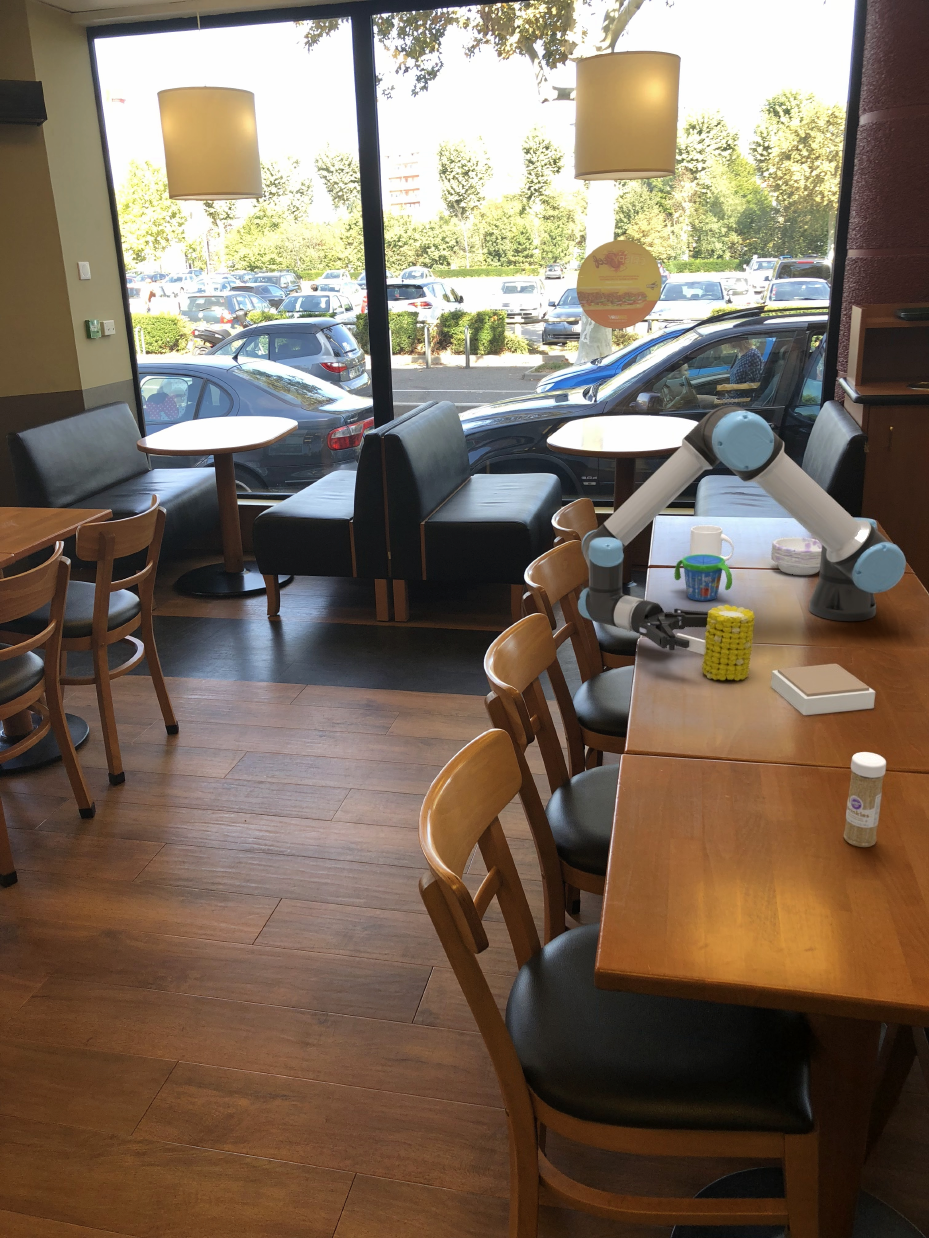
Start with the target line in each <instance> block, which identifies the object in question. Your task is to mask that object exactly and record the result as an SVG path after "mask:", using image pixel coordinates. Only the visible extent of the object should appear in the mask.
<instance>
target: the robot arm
mask: <svg viewBox="0 0 929 1238" xmlns="http://www.w3.org/2000/svg"><path fill="white" fill-rule="evenodd" d="M720 462H722V464H724V465H725V466H726V467H727V468H729V470H731V471H732V472H733V474H735V476H737V477H738V478H740V480H741V481H742V482H743V483H750V482H751V483H752V482H753V483H755V484H756V485H757V486H758V487H760V488H761V489H762V490H763V491H764V492H765V493H766V494H767V495H768V496H769V497H770V498H771V499H773V500H774V502H775V503H777V504H778V505H779V506H780V507H781V508H783V510H784V511H786V512H787V513H788V515H790V516H791V517H792V518H793V520H795V521H796V522H798V524H799V525H800V526H801V527H803V528H804V530H805V531H806V532H808V533H809V534H810V535H811V536H812V537H813V538H814V539H816V540H818V541H819V542H820V543H821V544H822V550H821V562H820V570H819V574H818V575H819V576H818V577H819V578H818V580H817V583H816V585H815V587H814V590H813V592H812V594H811V596H810V598H809V603H808V604H809V605H808V610H809V612H810V613H811V614H813V615H815V616H817V617H820V618H823V619H826V620H831V621H838V622H839V621H840V622H860V621H861V622H862V621H867V620H869V619H872V618H874V616H876V611H877V603H876V598H875V595H874V594H878V593H885V592H886V591H889V590H890V589H892V588H893V587H895V586H896V585H897V584H898V583H899V582H900V581H901V579H902V577H903V576H904V575H905V574H904V573H905V571H906V566H907V565H906V564H907V562H906V557H905V555H904V552H903V551H902V550H901V548H900V547H899V546H898V545H897V544H894V543H892V542H890V541H889V539H887V538H886V537H885V536H884V535H883V534H882V533H881V532H879V530H878V523H877V521H876V520H875V519H872V518H867V517H853V516H851V514H850V513H849V512H848V511H846V510H845V508H844V507H842V506H841V505H840V504H839V503H838V502H837V501H836V499H834V498H833V497H832V496H831V495H829V494H828V493H827V491H826V490H825V489H823V488H822V487H821V486H820V484H818V483H817V482H816V481H815V480H814V479H813V478H812V477H811V476H810V475H808V474H807V473H806V472H805V471H804V470H803V469H802V468H801V467H800V466H799V465H798V464H797V462H795V461H794V460H792V458H790V457H789V456H788V454H786V453H785V442H784V440H782V438H780V437H779V436H778V435H777V434H776V433H775V432H774V431H773V430H772V428H771V426H770V425H769V423H768V422H767V420H765V419H764V418H763V417H762V416H760V415H759V414H756V413H754V412H752V411H748V410H746V409H745V408H742V407H740V406H738V405H734V404H733V405H731V404H729V405H727V404H726V405H723V406H719V407H717V408H715V409H713V410H711V411H710V412H709V413H707V414H706V415H705V416H704V417H703V418H702V419H701V420H700V421H699V422H698V423H697V424H696V425H695V426H694V427H693V428H692V429H691V430H690V431H689V432H688V433H687V434H686V435H684V437H683V438H682V439H681V446H680V447H679V448H678V449H677V450H676V451H675V452H674V453H673V454H672V455H671V456H670V457H669V458H668V459H667V460H666V461H665V462H664V463H663V464H662V465H661V466H660V467H659V468H658V469H657V470H656V471H655V472H654V473H653V474H652V475H651V476H650V477H649V478H648V479H647V480H645V482H644V483H643V484H642V485H641V486H640V487H639V488H638V489H637V490H636V491H634V493H633V494H632V495H631V496H629V498H628V499H627V500H626V501H625V502H624V503H622V504H621V506H620V507H618V509H617V510H616V511H615V512H613V513H612V515H610V516H609V518H608V519H606V521H604V522H603V524H601V525H600V526H599V527H598V528H597V529H593V530H591V531H589V532H587V533H586V534H585V535H584V537H583V538H582V541H581V553H582V556H583V558H584V560H585V561H586V564H587V565H586V566H587V567H588V587H586V588H584V589H583V590H582V591H581V592H580V594H579V599H578V601H577V608H578V612H579V614H580V615H581V616H582V617H583V618H585V619H587V620H590V621H593V622H595V623H598V624H599V623H600V624H604V625H607V626H612V627H616V628H617V629H618V628H619V629H622V630H625V631H626V632H627V633H631V632H634V633H635V634H636V633H637V634H639V636H642V637H646V638H647V639H648V640H650V641H651V642H652V643H654V644H655V645H657V647H660V648H661V649H662V650H663V649H667V648H668V650H669V651H675V649H676V647H677V648H678V649H679V648H680V649H683V650H687V651H691V652H693V653H697V654H699V655H700V654H701V655H704V654H705V647H706V641H705V639H701V638H697V637H693V636H690V635H686V634H682V633H676V634H675V633H674V631H675V630H685V628H706V626H707V618H708V611H703V610H689V609H681V608H677V607H676V608H674V609H673V612H672V611H664V609H663V608H662V606H661V604H660V603H658V602H654V601H650V600H646V599H642V598H640V597H635V596H631V595H627V594H626V595H625V594H624V593H623V567H624V566H623V564H624V563H623V561H624V557H625V556H624V555H625V554H624V553H623V551H624V548H626V546H627V545H628V544H629V543H630V542H632V541H633V540H634V538H636V536H638V534H640V532H642V531H643V530H644V529H645V528H646V527H647V526H648V525H649V524H650V523H651V522H652V521H653V520H654V519H656V517H657V516H659V514H660V513H661V512H663V510H665V509H666V508H667V507H668V506H669V504H671V503H672V502H673V501H674V500H675V499H676V498H678V496H679V495H680V494H681V493H682V492H683V491H684V490H686V488H687V487H688V486H690V485H691V484H692V483H693V482H694V481H695V480H696V478H698V477H699V476H700V475H701V474H702V473H703V472H704V471H705V470H712V469H713V468H715V467H716V465H718V464H719V463H720Z"/></svg>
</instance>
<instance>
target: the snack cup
mask: <svg viewBox="0 0 929 1238" xmlns="http://www.w3.org/2000/svg"><path fill="white" fill-rule="evenodd" d="M725 562H726V561H725V560H724V559H723V558H722V557H719V556H715V555H707V554H698V555H690V554H689V555H687V556H685V557H683V558H682V559H680V560H679V561H678V562H677V563H676V565H675V568H674V574H673V577H674V580H675V581H680V579H682V575H681V568H680V567H681V566H682V567H683V573H684V580H685V588H686V594H687V597H688V598H689V599H691V600H694V601H700V602H701V601H702V602H705V601H706V602H707V601H712V600H716V598H717V597H718V594H719V590H720V583H721V581H722V574H723V573H722V572H723V571H724V573H725V577H726V583H725V587H724V590H725V591H729V590H731V588H732V585H733V576H732V572H731V570H730V567H729V566H728V565H727V564H726V563H725Z"/></svg>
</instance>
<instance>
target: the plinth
mask: <svg viewBox="0 0 929 1238" xmlns="http://www.w3.org/2000/svg"><path fill="white" fill-rule="evenodd" d="M770 688H772V689H773V690H774V691H776V693H777V694H779V695H780V696H781V697H782V698H783V699H784V700H786V701H787V702H788V703H789V704H791V705H792V707H793V708H795V709H796V710H797V711H798V712H800V713H801V715H803V716H810V715H819V714H820V715H821V714H829V713H839V712H849V711H860V710H867V709H868V710H870V709H874V708H875V706H874V705H875V697H876V691H875V690H874V689H872V688H871V687H870V686H868V685H867V684H865V682H862V681H861V680H859V679H858V677H856V676H855V675H853V674H852V673H850V672H849V671H847V670H846V669H845V668H843V667H842V666H840V665H839V664H837V663H829V664H819V665H808V666H797V667H789V668H788V667H787V668H778V669H776V670H772V671H771V680H770Z"/></svg>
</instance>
